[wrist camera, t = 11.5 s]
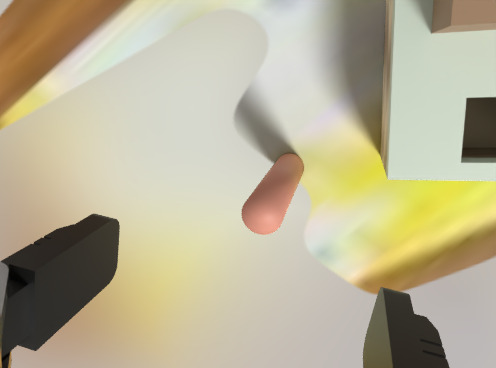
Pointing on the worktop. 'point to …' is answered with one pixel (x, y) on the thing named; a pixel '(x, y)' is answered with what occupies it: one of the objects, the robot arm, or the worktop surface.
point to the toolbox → (476, 114)
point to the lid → (438, 87)
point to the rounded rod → (273, 195)
